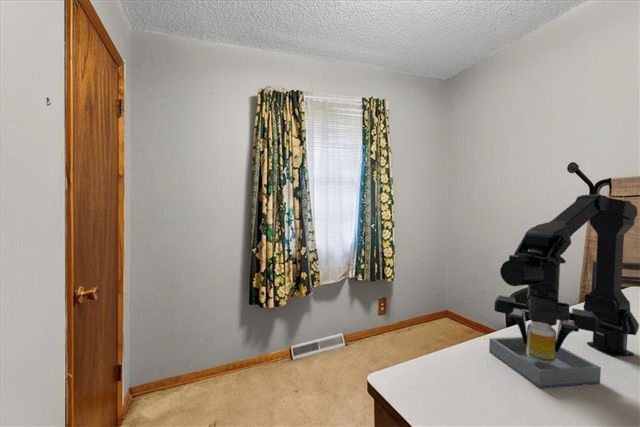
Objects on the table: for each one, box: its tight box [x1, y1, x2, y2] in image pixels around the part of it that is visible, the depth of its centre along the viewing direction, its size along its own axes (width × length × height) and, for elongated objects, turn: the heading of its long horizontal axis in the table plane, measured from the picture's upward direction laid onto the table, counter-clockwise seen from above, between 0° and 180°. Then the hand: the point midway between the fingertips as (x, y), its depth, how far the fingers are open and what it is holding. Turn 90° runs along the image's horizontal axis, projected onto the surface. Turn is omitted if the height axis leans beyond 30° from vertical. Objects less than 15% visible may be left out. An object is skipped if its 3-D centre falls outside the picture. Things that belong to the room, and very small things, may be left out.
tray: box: [488, 336, 602, 389], centre depth 67 cm, size 15×15×4 cm
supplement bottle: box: [526, 320, 557, 363], centre depth 67 cm, size 5×5×10 cm
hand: (540, 347), depth 67 cm, fingers closed on supplement bottle, 5 cm apart
